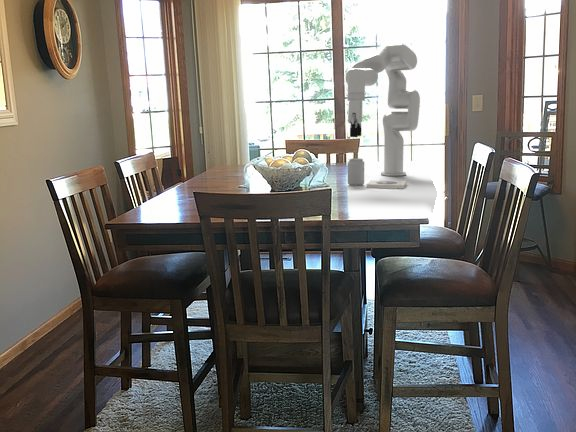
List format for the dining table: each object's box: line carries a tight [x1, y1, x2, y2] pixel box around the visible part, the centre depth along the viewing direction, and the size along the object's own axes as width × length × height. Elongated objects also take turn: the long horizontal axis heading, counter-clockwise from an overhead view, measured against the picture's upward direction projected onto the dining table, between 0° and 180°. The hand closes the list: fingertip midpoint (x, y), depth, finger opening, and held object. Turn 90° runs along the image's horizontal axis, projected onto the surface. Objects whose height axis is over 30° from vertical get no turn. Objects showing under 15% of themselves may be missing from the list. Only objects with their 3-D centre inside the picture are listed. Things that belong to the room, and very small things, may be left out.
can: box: [347, 157, 365, 187], centre depth 276 cm, size 8×8×12 cm
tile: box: [365, 180, 407, 189], centre depth 272 cm, size 13×16×2 cm
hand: (355, 136), depth 272 cm, fingers open, 9 cm apart
